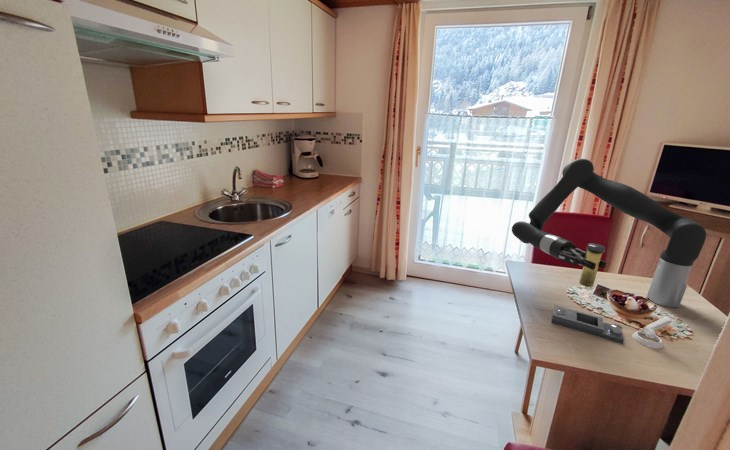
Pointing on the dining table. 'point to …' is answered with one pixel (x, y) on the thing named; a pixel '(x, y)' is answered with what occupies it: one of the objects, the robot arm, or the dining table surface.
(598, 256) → the pin
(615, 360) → the dining table surface
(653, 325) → the white vr controller
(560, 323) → the grey plate with studs
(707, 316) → the dining table surface
